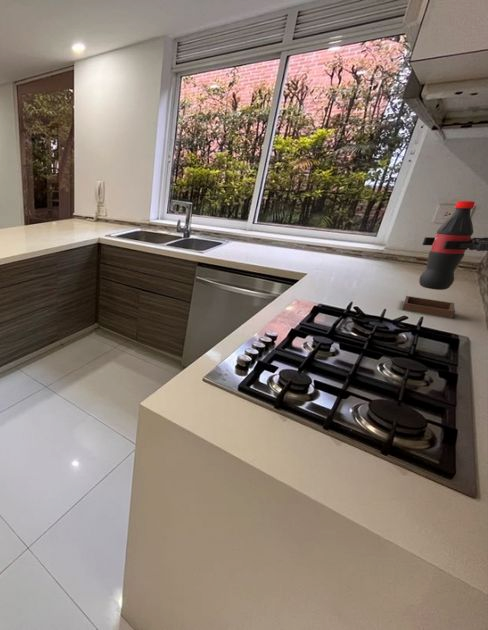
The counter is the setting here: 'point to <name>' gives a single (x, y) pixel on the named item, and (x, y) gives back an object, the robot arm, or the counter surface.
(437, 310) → the bottle tray
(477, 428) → the counter surface
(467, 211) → the cola bottle
